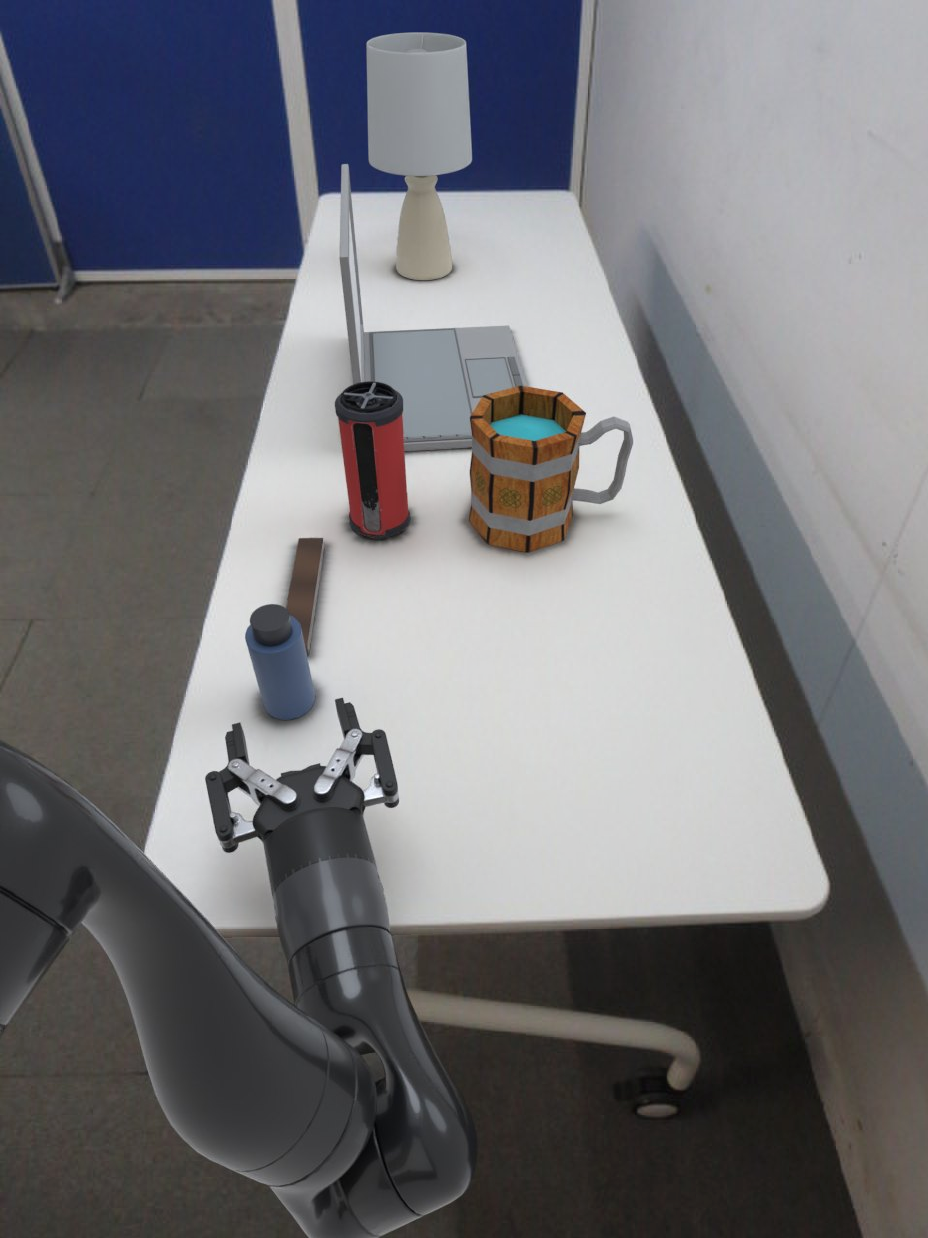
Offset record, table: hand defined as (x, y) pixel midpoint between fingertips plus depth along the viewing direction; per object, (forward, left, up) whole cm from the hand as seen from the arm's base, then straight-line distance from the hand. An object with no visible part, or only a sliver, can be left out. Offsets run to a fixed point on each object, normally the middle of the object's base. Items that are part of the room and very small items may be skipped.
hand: (289, 716), depth 67 cm
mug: (+47, -2, -11) cm, 49 cm away
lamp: (+107, +52, -11) cm, 120 cm away
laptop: (+69, +26, -11) cm, 75 cm away
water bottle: (+7, +8, -11) cm, 15 cm away
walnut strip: (+20, +16, -11) cm, 28 cm away
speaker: (+36, +16, -11) cm, 41 cm away
